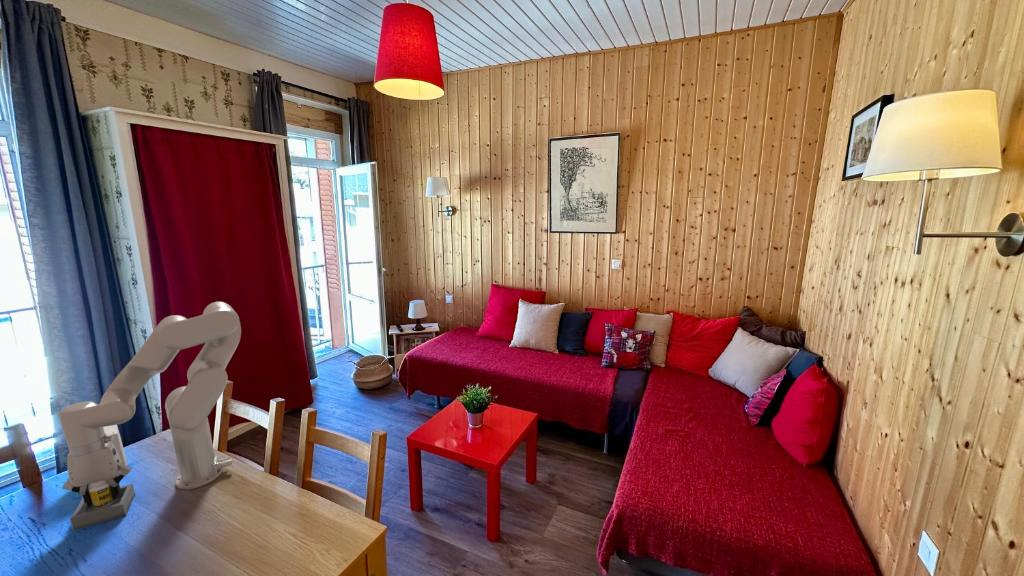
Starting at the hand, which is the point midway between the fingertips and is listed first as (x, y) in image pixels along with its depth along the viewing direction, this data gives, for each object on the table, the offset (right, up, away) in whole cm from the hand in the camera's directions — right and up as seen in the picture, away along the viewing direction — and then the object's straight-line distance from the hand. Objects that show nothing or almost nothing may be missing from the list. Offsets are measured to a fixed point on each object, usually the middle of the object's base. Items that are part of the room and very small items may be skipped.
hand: (103, 499), depth 121 cm
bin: (0, -4, +1) cm, 4 cm away
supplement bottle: (0, -2, 0) cm, 2 cm away
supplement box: (-16, 0, +18) cm, 24 cm away
